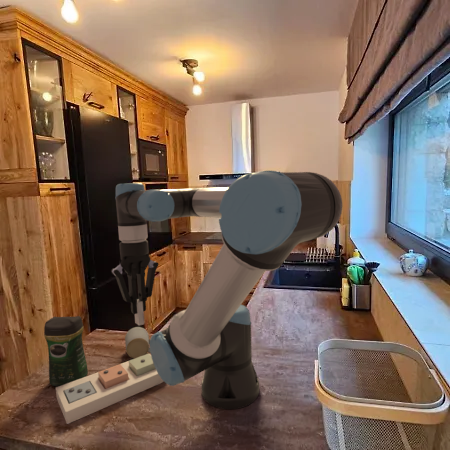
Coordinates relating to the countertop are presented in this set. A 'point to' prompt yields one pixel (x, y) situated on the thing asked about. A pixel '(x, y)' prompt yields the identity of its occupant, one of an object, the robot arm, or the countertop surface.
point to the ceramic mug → (137, 342)
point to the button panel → (104, 393)
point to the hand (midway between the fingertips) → (139, 323)
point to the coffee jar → (65, 350)
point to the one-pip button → (141, 365)
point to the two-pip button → (112, 376)
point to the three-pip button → (79, 392)
